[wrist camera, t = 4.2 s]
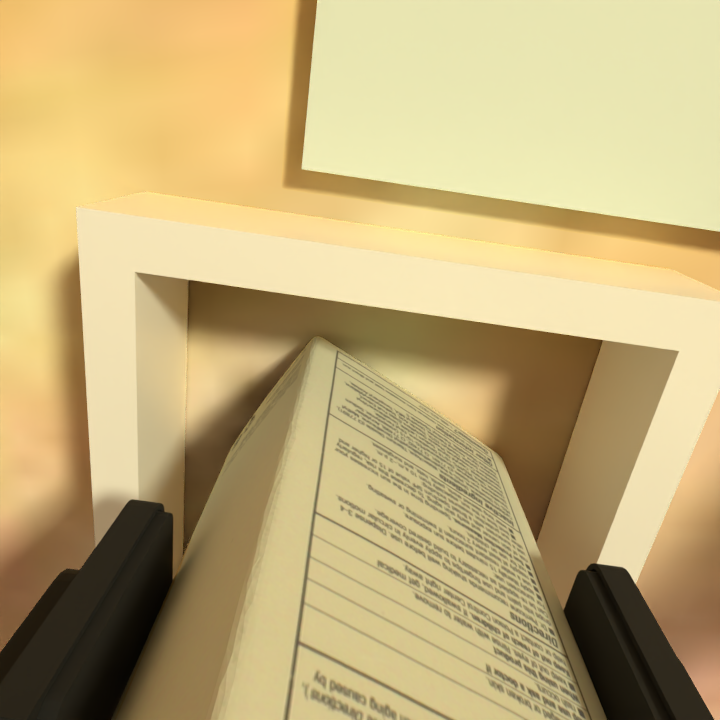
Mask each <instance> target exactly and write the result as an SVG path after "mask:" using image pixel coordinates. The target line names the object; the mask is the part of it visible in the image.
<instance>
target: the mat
mask: <svg viewBox="0 0 720 720" xmlns="http://www.w3.org/2000/svg"><path fill="white" fill-rule="evenodd" d="M302 169H304V170H311V171H317V172H324V173H331V174H337V175H344V176H351V177H358V178H364V179H371V180H378V181H384V182H391V183H398V184H404V185H411V186H418V187H424V188H431V189H438V190H445V191H451V192H458V193H465V194H471V195H478V196H485V197H491V198H498V199H505V200H511V201H518V202H525V203H532V204H538V205H545V206H552V207H558V208H565V209H572V210H578V211H585V212H592V213H598V214H605V215H612V216H619V217H625V218H632V219H639V220H645V221H652V222H659V223H665V224H672V225H679V226H685V227H692V228H699V229H706V230H712V231H719V232H720V0H317V9H316V20H315V31H314V42H313V52H312V63H311V74H310V84H309V95H308V106H307V117H306V127H305V138H304V149H303V159H302Z"/></svg>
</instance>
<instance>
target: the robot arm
mask: <svg viewBox="0 0 720 720" xmlns="http://www.w3.org/2000/svg"><path fill="white" fill-rule="evenodd" d="M172 581H173V514H172V513H168V512H165V511H164V505H163V504H162V503H156V502H149V501H141V500H134V499H132V500H129V501H128V503H127V504H126V505H125V506H124V508H123V509H122V511H121V512H120V514H119V515H118V516H117V518H116V519H115V521H114V522H113V524H112V525H111V526H110V528H109V529H108V531H107V532H106V534H105V535H104V536H103V538H102V539H101V541H100V542H99V544H98V545H97V546H96V548H95V549H94V551H93V552H92V554H91V555H90V556H89V558H88V559H87V561H86V562H85V564H84V565H83V566H82V568H81V569H80V570H74V569H66V570H64V571H63V572H61V573H60V574H59V575H58V576H57V578H56V579H55V580H54V581H53V582H52V584H51V585H50V586H49V588H48V589H47V591H46V592H45V593H44V595H43V596H42V597H41V599H40V600H39V601H38V603H37V604H36V605H35V607H34V608H33V609H32V611H31V612H30V613H29V615H28V616H27V617H26V619H25V620H24V622H23V623H22V624H21V626H20V627H19V628H18V630H17V631H16V632H15V634H14V635H13V636H12V638H11V639H10V640H9V642H8V643H7V644H6V646H5V647H4V648H3V650H2V651H1V653H0V720H111V719H112V716H113V714H114V712H115V710H116V707H117V705H118V703H119V701H120V698H121V696H122V694H123V692H124V689H125V687H126V685H127V683H128V680H129V678H130V676H131V674H132V672H133V669H134V667H135V665H136V662H137V660H138V658H139V656H140V654H141V651H142V649H143V647H144V645H145V642H146V640H147V638H148V635H149V633H150V631H151V629H152V626H153V624H154V622H155V620H156V617H157V615H158V613H159V611H160V608H161V606H162V604H163V601H164V599H165V597H166V595H167V592H168V590H169V588H170V586H171V584H172ZM563 611H564V614H565V617H566V619H567V621H568V624H569V626H570V629H571V631H572V634H573V636H574V638H575V641H576V643H577V646H578V648H579V651H580V653H581V656H582V658H583V661H584V663H585V666H586V668H587V671H588V673H589V676H590V678H591V681H592V683H593V686H594V688H595V691H596V693H597V696H598V698H599V701H600V703H601V706H602V708H603V710H604V713H605V715H606V718H607V720H714V719H713V717H712V715H711V713H710V712H709V710H708V708H707V706H706V705H705V703H704V701H703V699H702V698H701V696H700V694H699V692H698V691H697V689H696V687H695V685H694V684H693V682H692V680H691V678H690V677H689V675H688V673H687V671H686V670H685V668H684V666H683V664H682V663H681V662H680V660H679V659H678V658H677V656H676V655H675V653H674V651H673V649H672V648H671V646H670V644H669V642H668V641H667V639H666V637H665V635H664V634H663V632H662V630H661V628H660V626H659V625H658V623H657V621H656V619H655V618H654V616H653V614H652V612H651V611H650V609H649V607H648V605H647V604H646V602H645V600H644V598H643V597H642V595H641V593H640V591H639V589H638V588H637V586H636V584H635V582H634V581H633V579H632V577H631V575H630V574H629V572H628V571H627V570H626V569H625V568H623V567H618V566H610V565H603V564H596V563H592V564H590V565H589V566H588V567H587V569H586V570H580V571H579V572H578V574H577V576H576V578H575V581H574V584H573V586H572V589H571V592H570V594H569V597H568V600H567V602H566V605H565V608H564V610H563Z"/></svg>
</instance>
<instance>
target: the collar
mask: <svg viewBox="0 0 720 720" xmlns="http://www.w3.org/2000/svg"><path fill="white" fill-rule="evenodd" d="M76 215H77V233H78V251H79V269H80V287H81V304H82V322H83V340H84V358H85V375H86V393H87V411H88V429H89V446H90V464H91V482H92V500H93V518H94V535H95V548H96V546H97V545H98V544H99V542H100V541H101V539H102V538H103V536H104V535H105V534H106V532H107V531H108V529H109V528H110V526H111V525H112V524H113V522H114V521H115V519H116V518H117V516H118V515H119V514H120V512H121V511H122V509H123V508H124V506H125V505H126V504H127V503H128V501H129V500H132V499H134V500H141V501H149V502H156V503H162V504H163V505H164V511H165V512H168V513H172V514H173V578H174V576H175V574H176V572H177V570H178V567H179V565H180V563H181V560H182V558H183V524H184V475H185V426H186V378H187V329H188V281H189V280H194V281H201V282H208V283H215V284H222V285H229V286H235V287H242V288H249V289H256V290H263V291H270V292H277V293H284V294H290V295H297V296H304V297H311V298H318V299H325V300H332V301H339V302H345V303H352V304H359V305H366V306H373V307H380V308H387V309H393V310H400V311H407V312H414V313H421V314H428V315H435V316H442V317H448V318H455V319H462V320H469V321H476V322H483V323H490V324H497V325H503V326H510V327H517V328H524V329H531V330H538V331H545V332H552V333H558V334H565V335H572V336H579V337H586V338H593V339H600V340H603V342H602V345H601V348H600V351H599V354H598V357H597V360H596V363H595V366H594V369H593V373H592V376H591V379H590V382H589V385H588V388H587V391H586V394H585V397H584V400H583V403H582V406H581V409H580V412H579V415H578V418H577V421H576V424H575V427H574V430H573V433H572V436H571V439H570V443H569V446H568V449H567V452H566V455H565V458H564V461H563V464H562V467H561V470H560V473H559V476H558V479H557V482H556V485H555V488H554V491H553V494H552V497H551V500H550V503H549V506H548V509H547V513H546V516H545V519H544V522H543V525H542V528H541V531H540V534H539V537H538V540H537V543H536V544H537V547H538V549H539V552H540V554H541V557H542V559H543V562H544V564H545V567H546V569H547V572H548V574H549V576H550V579H551V581H552V584H553V586H554V589H555V591H556V594H557V596H558V599H559V601H560V604H561V606H562V609H563V610H564V608H565V605H566V602H567V600H568V597H569V594H570V592H571V589H572V586H573V584H574V581H575V578H576V576H577V574H578V572H579V571H580V570H586V569H587V567H588V566H589V565H590V564H592V563H596V564H603V565H610V566H618V567H623V568H625V569H626V570H627V571H628V572H629V574H630V575H631V577H632V579H633V581H634V582H635V584H636V582H637V580H638V578H639V575H640V573H641V571H642V568H643V566H644V564H645V561H646V559H647V557H648V554H649V552H650V550H651V547H652V545H653V543H654V540H655V538H656V536H657V533H658V531H659V529H660V526H661V524H662V522H663V519H664V517H665V515H666V512H667V510H668V508H669V505H670V503H671V501H672V499H673V496H674V494H675V492H676V489H677V487H678V485H679V482H680V480H681V478H682V475H683V473H684V471H685V468H686V466H687V464H688V461H689V459H690V457H691V454H692V452H693V450H694V447H695V445H696V443H697V440H698V438H699V436H700V433H701V431H702V429H703V427H704V424H705V422H706V420H707V417H708V415H709V413H710V410H711V408H712V406H713V403H714V401H715V399H716V396H717V394H718V392H719V389H720V291H719V290H717V289H714V288H712V287H710V286H708V285H705V284H703V283H701V282H699V281H697V280H694V279H692V278H690V277H688V276H685V275H683V274H681V273H679V272H677V271H674V270H672V269H666V268H660V267H653V266H646V265H639V264H633V263H626V262H619V261H612V260H606V259H599V258H592V257H585V256H579V255H572V254H565V253H558V252H552V251H545V250H538V249H531V248H525V247H518V246H511V245H504V244H498V243H491V242H484V241H477V240H471V239H464V238H457V237H450V236H444V235H437V234H430V233H423V232H416V231H410V230H403V229H396V228H389V227H383V226H376V225H369V224H362V223H356V222H349V221H342V220H335V219H329V218H322V217H315V216H308V215H302V214H295V213H288V212H281V211H275V210H268V209H261V208H254V207H248V206H241V205H234V204H227V203H221V202H214V201H207V200H200V199H194V198H187V197H180V196H173V195H167V194H160V193H153V192H146V191H145V192H141V193H136V194H132V195H127V196H123V197H118V198H114V199H109V200H105V201H100V202H96V203H91V204H87V205H82V206H78V207H76Z"/></svg>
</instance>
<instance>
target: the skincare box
mask: <svg viewBox="0 0 720 720" xmlns="http://www.w3.org/2000/svg"><path fill="white" fill-rule="evenodd" d="M111 720H607V718H606V715H605V713H604V710H603V708H602V706H601V703H600V701H599V698H598V696H597V693H596V691H595V688H594V686H593V683H592V681H591V678H590V676H589V673H588V671H587V668H586V666H585V663H584V661H583V658H582V656H581V653H580V651H579V648H578V646H577V643H576V641H575V638H574V636H573V634H572V631H571V629H570V626H569V624H568V621H567V619H566V617H565V614H564V611H563V609H562V606H561V604H560V601H559V599H558V596H557V594H556V591H555V589H554V586H553V584H552V581H551V579H550V576H549V574H548V572H547V569H546V567H545V564H544V562H543V559H542V557H541V554H540V552H539V549H538V547H537V544H536V542H535V539H534V537H533V534H532V532H531V529H530V526H529V524H528V521H527V519H526V516H525V514H524V512H523V509H522V507H521V504H520V502H519V499H518V497H517V494H516V492H515V489H514V487H513V485H512V482H511V479H510V477H509V474H508V472H507V469H506V467H505V464H504V462H503V459H502V458H501V457H500V456H499V455H498V454H497V453H496V452H494V451H493V450H492V449H490V448H489V447H487V446H486V445H485V444H483V443H482V442H481V441H479V440H478V439H476V438H475V437H474V436H472V435H471V434H469V433H468V432H466V431H465V430H464V429H462V428H461V427H459V426H458V425H456V424H455V423H454V422H452V421H451V420H449V419H448V418H446V417H445V416H443V415H442V414H440V413H439V412H437V411H436V410H435V409H433V408H432V407H430V406H429V405H427V404H426V403H424V402H422V401H421V400H419V399H418V398H416V397H415V396H413V395H412V394H410V393H409V392H407V391H406V390H404V389H403V388H401V387H400V386H398V385H397V384H395V383H394V382H392V381H391V380H389V379H387V378H386V377H384V376H383V375H381V374H380V373H378V372H377V371H375V370H373V369H372V368H370V367H369V366H367V365H366V364H364V363H362V362H361V361H359V360H358V359H356V358H354V357H353V356H351V355H350V354H348V353H346V352H345V351H343V350H342V349H340V348H338V347H336V346H335V345H333V344H332V343H330V342H329V341H327V340H326V339H324V338H322V337H320V336H315V337H314V338H312V339H311V341H310V342H309V343H308V344H307V345H306V347H305V348H304V349H303V350H302V352H301V353H300V354H299V355H298V357H297V358H296V359H295V360H294V362H293V363H292V364H291V366H290V367H289V368H288V369H287V371H286V372H285V373H284V375H283V376H282V377H281V378H280V380H279V381H278V382H277V384H276V385H275V386H274V387H273V389H272V390H271V391H270V393H269V394H268V395H267V397H266V398H265V399H264V401H263V402H262V403H261V405H260V406H259V408H258V409H257V410H256V412H255V413H254V415H253V416H252V417H251V419H250V420H249V422H248V423H247V425H246V426H245V427H244V429H243V430H242V432H241V434H240V435H239V437H238V438H237V440H236V441H235V443H234V444H233V446H232V447H231V449H230V451H229V453H228V455H227V458H226V460H225V463H224V465H223V467H222V469H221V472H220V474H219V476H218V478H217V480H216V483H215V485H214V487H213V489H212V492H211V494H210V496H209V499H208V501H207V503H206V505H205V507H204V510H203V512H202V514H201V516H200V519H199V521H198V523H197V526H196V528H195V530H194V532H193V535H192V537H191V539H190V542H189V544H188V546H187V549H186V551H185V553H184V556H183V558H182V560H181V563H180V565H179V567H178V570H177V572H176V574H175V576H174V578H173V581H172V584H171V586H170V588H169V590H168V592H167V595H166V597H165V599H164V601H163V604H162V606H161V608H160V611H159V613H158V615H157V617H156V620H155V622H154V624H153V626H152V629H151V631H150V633H149V635H148V638H147V640H146V642H145V645H144V647H143V649H142V651H141V654H140V656H139V658H138V660H137V662H136V665H135V667H134V669H133V672H132V674H131V676H130V678H129V680H128V683H127V685H126V687H125V689H124V692H123V694H122V696H121V698H120V701H119V703H118V705H117V707H116V710H115V712H114V714H113V716H112V719H111Z"/></svg>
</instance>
